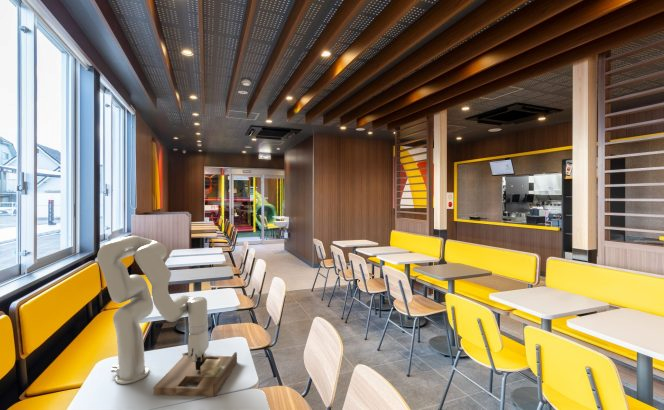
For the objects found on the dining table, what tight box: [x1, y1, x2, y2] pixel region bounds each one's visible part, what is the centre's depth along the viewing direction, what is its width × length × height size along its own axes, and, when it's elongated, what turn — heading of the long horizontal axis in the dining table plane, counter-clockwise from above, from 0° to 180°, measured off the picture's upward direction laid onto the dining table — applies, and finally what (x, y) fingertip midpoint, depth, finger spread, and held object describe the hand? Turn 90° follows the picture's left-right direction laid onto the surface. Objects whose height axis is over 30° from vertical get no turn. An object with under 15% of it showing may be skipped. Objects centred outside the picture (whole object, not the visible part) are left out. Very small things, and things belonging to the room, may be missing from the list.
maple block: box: [200, 359, 221, 375], centre depth 140 cm, size 6×6×4 cm
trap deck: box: [153, 351, 238, 397], centre depth 141 cm, size 25×24×5 cm
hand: (200, 368), depth 141 cm, fingers closed
